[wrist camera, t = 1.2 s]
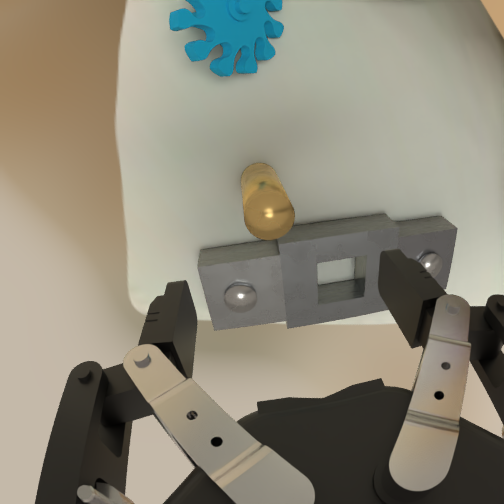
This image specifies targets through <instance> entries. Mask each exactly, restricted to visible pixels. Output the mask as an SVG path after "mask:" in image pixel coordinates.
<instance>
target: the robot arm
mask: <svg viewBox="0 0 504 504" xmlns="http://www.w3.org/2000/svg"><path fill="white" fill-rule="evenodd" d="M378 290H379V294H380V296H381V298H382V299H383V301H384V303H385V304H386V306H387V308H388V309H389V311H390V312H391V314H392V316H393V317H394V319H395V321H396V322H397V324H398V326H399V328H400V329H401V331H402V333H403V334H404V336H405V338H406V340H407V341H408V343H409V345H410V346H411V348H415V347H419V346H422V347H423V353H422V356H421V360H420V363H419V366H418V370H417V374H416V376H415V380H414V383H413V386H412V389H411V391H410V390H407V389H404V388H399V387H390V386H384V383H383V381H382V379H381V378H380V379H376V380H372V381H368V382H364V383H359V384H355V385H352V386H349V387H347V388H345V389H343V390H341V391H339V392H336V393H334V394H332V395H330V396H327V397H325V398H292V397H288V398H281V399H275V400H267V401H260V402H257V407H258V411H256V412H253V413H251V414H249V415H247V416H245V417H243V418H241V419H240V420H238V421H237V422H236V421H235V420H233V418H231V417H230V416H229V415H228V414H227V413H226V412H225V411H224V410H223V409H222V408H221V407H220V406H219V405H218V404H217V403H216V402H215V401H214V400H213V399H212V398H211V397H210V396H209V395H208V394H207V393H206V392H205V391H204V390H203V389H202V388H201V387H200V386H199V385H198V384H197V383H196V382H195V381H194V380H193V379H192V373H193V362H194V351H195V342H196V331H197V315H196V310H195V307H194V303H193V300H192V296H191V293H190V290H189V286H188V283H187V281H186V280H184V281H176V282H169V283H167V286H166V290H165V294H164V295H163V296H157V297H156V298H155V300H154V301H153V302H152V303H151V304H150V307H149V310H148V313H147V314H148V315H147V317H146V320H145V321H146V322H145V323H144V327H143V330H142V333H141V337H140V340H139V344H138V346H137V347H135V348H133V349H132V350H130V351H129V352H128V353H127V354H126V356H125V357H124V360H123V363H122V364H119V365H116V366H113V367H110V368H106V369H102V367H101V366H100V364H98V363H97V362H94V361H87V362H83V363H81V364H79V365H77V366H76V367H75V368H74V369H73V370H72V371H71V373H70V375H69V377H68V380H67V383H66V386H65V389H64V392H63V395H62V398H61V401H60V405H59V408H58V411H57V414H56V418H55V421H54V425H53V428H52V432H51V435H50V439H49V443H48V447H47V451H46V455H45V459H44V463H43V467H42V472H41V476H40V481H39V485H38V490H37V495H36V501H35V504H134V503H133V501H132V500H130V499H129V498H128V497H126V496H125V486H126V475H127V465H128V455H129V446H130V436H131V429H132V421H133V420H136V419H139V418H143V417H146V416H150V415H154V417H155V418H156V419H157V421H158V422H159V423H160V425H161V426H162V427H163V429H164V430H165V431H166V432H167V434H168V435H169V436H170V438H171V439H172V440H173V441H174V443H175V444H176V445H177V446H178V448H179V449H180V450H181V452H182V453H183V454H184V456H185V457H186V458H187V459H188V460H189V462H190V463H191V464H192V465H193V466H194V468H195V469H194V470H193V471H192V472H191V473H190V474H189V476H188V477H187V478H186V479H185V480H184V481H183V482H182V483H181V485H180V486H179V487H178V488H177V489H176V490H175V491H174V492H173V493H172V494H171V496H170V497H169V498H168V499H167V500H166V501H165V502H164V503H163V504H504V354H503V353H502V351H501V348H502V346H503V345H504V295H492V296H490V297H489V298H488V300H487V303H486V306H470V305H469V304H468V302H467V301H466V300H465V299H463V298H461V297H459V296H456V295H448V294H447V293H446V292H445V291H444V290H443V288H442V287H441V286H440V285H439V284H438V283H437V281H436V280H435V279H434V278H433V277H432V276H431V274H430V273H429V272H427V270H426V269H425V268H424V267H423V265H422V264H421V263H419V262H417V261H416V260H414V259H412V258H407V257H406V256H405V255H404V253H403V252H402V251H401V250H400V249H398V248H397V249H391V250H385V251H382V252H381V254H380V262H379V275H378ZM469 361H470V362H471V364H472V366H473V367H474V369H475V371H476V373H477V375H478V376H479V378H480V380H481V382H482V384H483V386H484V387H485V389H486V391H487V393H488V395H489V397H490V399H491V401H492V403H493V404H494V407H495V409H496V411H497V413H498V414H499V417H500V418H501V421H502V423H503V428H502V437H503V438H501V437H499V436H497V435H495V434H493V433H491V432H489V431H487V430H485V429H483V428H481V427H479V426H477V425H475V424H473V423H471V422H469V421H468V420H466V419H464V418H462V417H460V414H461V409H462V404H463V398H464V392H465V386H466V381H467V374H468V367H469Z"/></svg>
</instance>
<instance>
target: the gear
mask: <svg viewBox="0 0 504 504" xmlns="http://www.w3.org/2000/svg"><path fill="white" fill-rule="evenodd" d="M186 1H187V2H189V3H190V4H191V5H192V6H193V7H194V9H195V10H196V12H194V13H191V12H190V11H189V10H187V9H179V10H176V11H174V12H171V13H170V18H169V23H170V29H171V30H173V31H179V30H182V29H186V28H189V27H196V28H199V29H202V30H204V31H205V33H206V41H203V40H197V41H192V42H189V43H187V44H186V45H185V51H186V53H187V55H188V57H189V58H190V60H191V61H200V60H204V59H206V58H207V57H208V55H209V53H210V51H211V50H212V49H213V48H214V47H215V46H216V45H218V44H220V45H221V46H222V47H223V55H222V56H221V57H220V58H217V59H214V60H213V61H212V62H211V64H210V69H211V71H212V72H214V73H215V74H217V75H218V76H221V77H223V76H230V75H231V74H232V73H233V70H234V59H235V56H236V54H237V52H238V51H239V49H241V53H242V54H241V57H240V59H239V60H238V62H237V63H236V72H237V73H241V74H244V73H256V72H257V69H258V67H257V63H256V60H255V56H256V58H257V60H269V59H271V58H272V57H273V56H274V55H275V49H274V47H273V46H272V45H271V44H270V43H269V41H268V39H267V37H266V35H267V36H268V37H269V38H278V37H280V36H281V34H282V32H283V29H284V26H283V25H282V23H280V22H278V21H275V20H274V19H273V18H272V17H271V16H270V15H269V14H268V12H267V10H268V11H277V10H281V9H282V0H186ZM265 7H266V8H265ZM266 9H267V10H266ZM264 28H265V29H264ZM255 42H256V49H255V55H254V47H255Z"/></svg>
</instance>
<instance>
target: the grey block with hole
mask: <svg viewBox="0 0 504 504" xmlns="http://www.w3.org/2000/svg"><path fill="white" fill-rule="evenodd" d="M456 234H457V228H456V227H455V226H454V225H453V224H451V223H450V222H449V221H448V220H446V219H445V218H444V217H442V216H436V217H429V218H421V219H414V220H406V221H399V222H393V221H392V220H391V219H390V218H389V217H388V216H387V215H386V214H379V215H371V216H363V217H355V218H348V219H340V220H333V221H326V222H318V223H311V224H304V225H297V226H292V227H291V229H290V230H289V231H288V232H287V233H286V234H285V235H284V236H282V237H280V238H277V239H274V240H264V241H257V242H250V243H244V244H237V245H230V246H223V247H217V248H210V249H203V250H200V256H199V261H198V271H199V275H200V279H201V283H202V286H203V290H204V294H205V298H206V302H207V305H208V309H209V313H210V316H211V320H212V323H213V327H214V330H223V329H231V328H239V327H247V326H254V325H261V324H268V323H275V322H281V321H286V325H287V328H294V327H300V326H306V325H312V324H318V323H324V322H329V321H335V320H340V319H345V318H350V317H356V316H361V315H366V314H370V313H375V312H380V311H385V310H389V309H388V308H387V306H386V304H385V303H384V301H383V299H382V298H381V296H380V294H379V290H378V275H379V262H380V254H381V252H382V251H385V250H391V249H397V248H398V249H400V250H401V251H402V252H403V253H404V255H405V256H406V257H407V258H412V259H414V260H416V261H417V262H419V263H421V264H422V265H423V267H424V268H425V269H426V270H427V272H429V273H430V274H431V276H432V277H433V278H434V279H435V280H436V281H437V283H438V284H439V285H440V286H441V287H442V288H443V289H446V287H447V282H448V278H449V273H450V268H451V263H452V258H453V252H454V246H455V240H456ZM352 257H355V279H354V280H348V281H342V282H336V283H330V284H324V285H318V284H317V263H320V262H326V261H333V260H339V259H345V258H352Z"/></svg>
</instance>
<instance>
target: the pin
mask: <svg viewBox="0 0 504 504" xmlns="http://www.w3.org/2000/svg"><path fill="white" fill-rule="evenodd" d="M241 187H242V198H243V209H244V220H245V224H246V227H247V229H248V230H249V231H250V233H251V234H253V235H254V236H255V237H257V238H260V239H263V240H274V239H277V238H280V237H282V236H284V235H285V234H286V233H287V232H288V231H289V230H290V229H291V227H292V225H293V223H294V219H295V213H294V209H293V206H292V204H291V202H290V200H289V198H288V196H287V194H286V192H285V190H284V188H283V186H282V184H281V182H280V180H279V178H278V176H277V174H276V172H275V171H274V169H273V168H272V167H271V166H269V165H267V164H264V163H255V164H252V165H250V166H248V167H247V168H246V169H245V170H244V172H243V174H242V176H241Z"/></svg>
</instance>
